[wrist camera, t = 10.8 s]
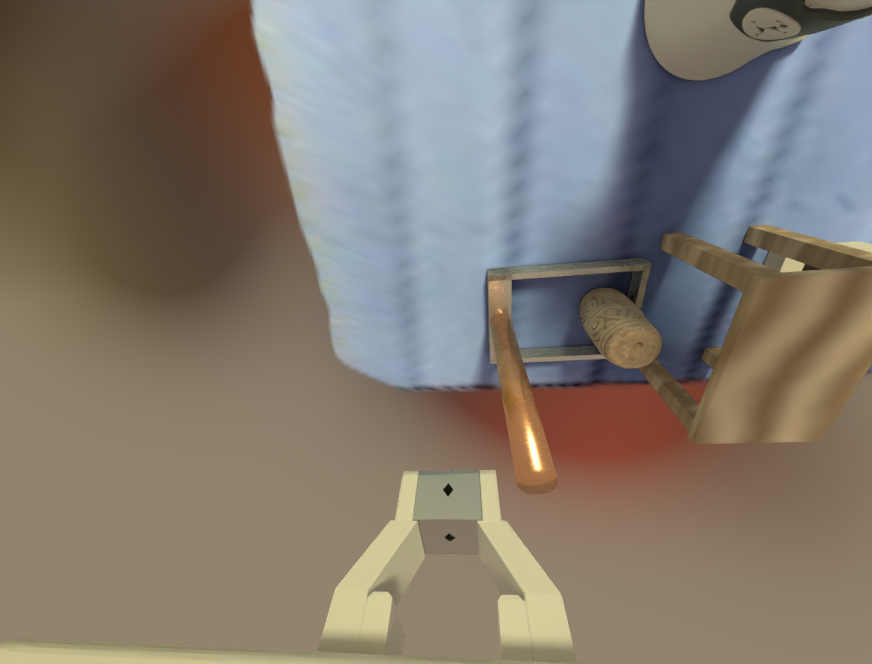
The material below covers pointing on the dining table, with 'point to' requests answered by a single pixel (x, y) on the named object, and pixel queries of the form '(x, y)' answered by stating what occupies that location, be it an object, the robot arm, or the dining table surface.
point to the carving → (619, 328)
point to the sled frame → (504, 351)
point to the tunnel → (777, 340)
